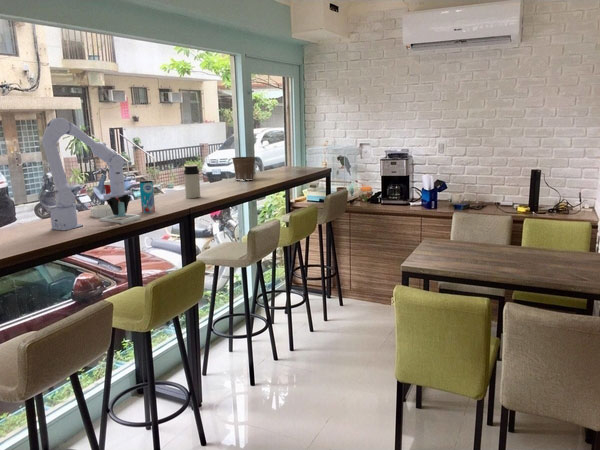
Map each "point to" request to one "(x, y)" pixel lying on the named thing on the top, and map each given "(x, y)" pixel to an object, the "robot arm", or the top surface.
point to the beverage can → (147, 196)
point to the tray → (123, 221)
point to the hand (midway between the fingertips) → (120, 213)
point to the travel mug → (192, 181)
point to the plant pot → (244, 167)
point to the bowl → (101, 211)
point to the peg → (121, 210)
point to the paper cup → (108, 188)
